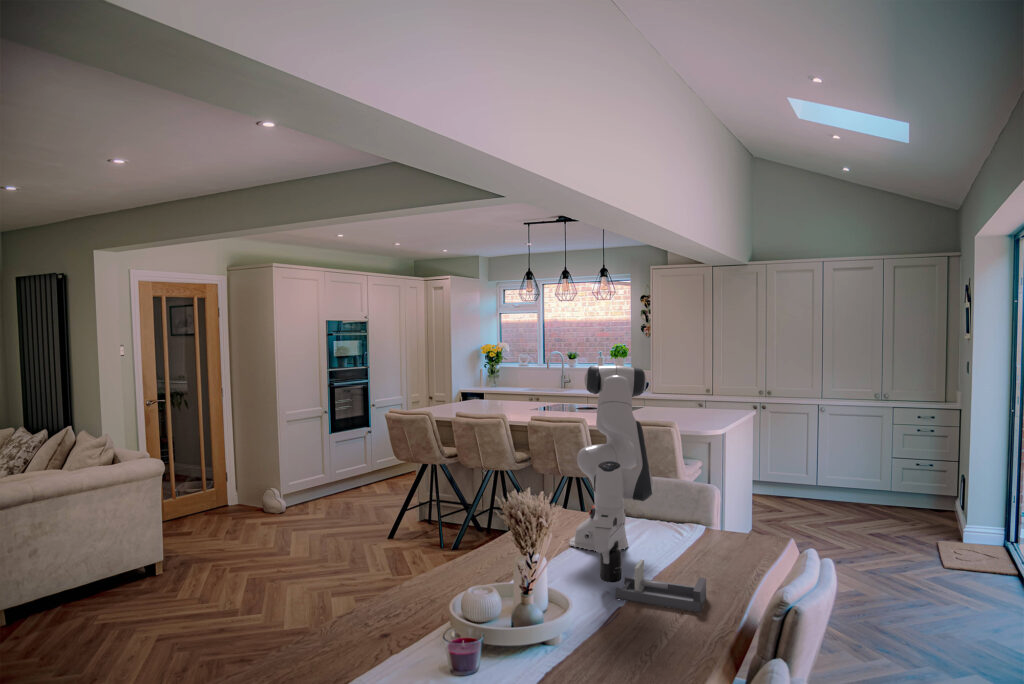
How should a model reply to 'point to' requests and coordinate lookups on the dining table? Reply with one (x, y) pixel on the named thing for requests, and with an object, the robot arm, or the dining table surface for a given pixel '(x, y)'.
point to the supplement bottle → (612, 565)
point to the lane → (666, 595)
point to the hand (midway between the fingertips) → (610, 558)
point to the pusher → (641, 582)
